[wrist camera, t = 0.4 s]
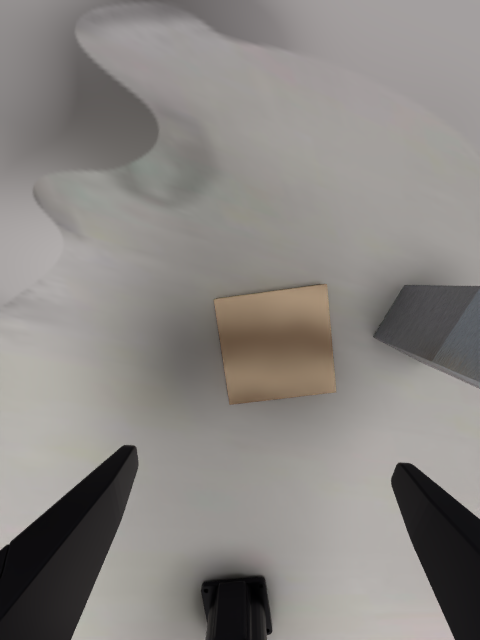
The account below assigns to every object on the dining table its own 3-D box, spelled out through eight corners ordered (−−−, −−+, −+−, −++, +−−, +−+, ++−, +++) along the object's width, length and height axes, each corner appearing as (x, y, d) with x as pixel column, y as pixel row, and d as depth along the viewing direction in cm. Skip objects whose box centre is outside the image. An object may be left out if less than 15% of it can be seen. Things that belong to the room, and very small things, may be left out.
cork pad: (330, 385, 23) (336, 392, 21) (230, 396, 23) (229, 404, 22) (321, 284, 21) (326, 284, 20) (215, 298, 22) (213, 299, 20)
